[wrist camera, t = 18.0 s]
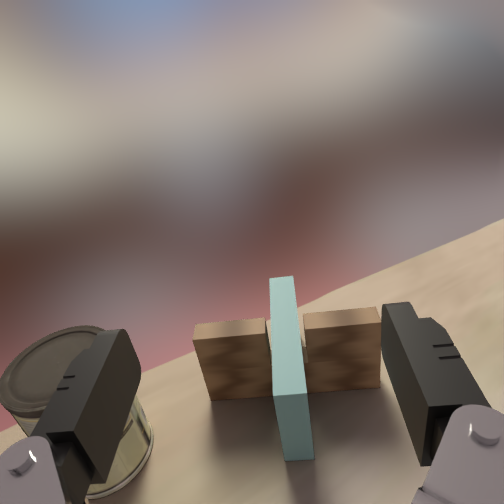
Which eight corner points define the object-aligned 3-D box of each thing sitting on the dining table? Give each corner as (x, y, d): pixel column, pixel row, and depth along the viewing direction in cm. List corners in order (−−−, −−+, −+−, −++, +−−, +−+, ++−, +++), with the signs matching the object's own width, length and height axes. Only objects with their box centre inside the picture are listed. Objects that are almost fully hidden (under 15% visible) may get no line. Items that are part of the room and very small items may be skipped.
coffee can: (40, 471, 42) (-25, 383, 35) (114, 399, 50) (71, 314, 42) (100, 522, 37) (37, 430, 30) (172, 433, 44) (135, 342, 37)
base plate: (210, 400, 47) (192, 339, 42) (213, 383, 49) (195, 324, 44) (379, 387, 45) (381, 322, 40) (374, 370, 47) (375, 306, 42)
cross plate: (284, 461, 39) (272, 395, 34) (278, 336, 55) (269, 278, 50) (314, 459, 39) (307, 393, 34) (299, 334, 55) (293, 275, 50)
